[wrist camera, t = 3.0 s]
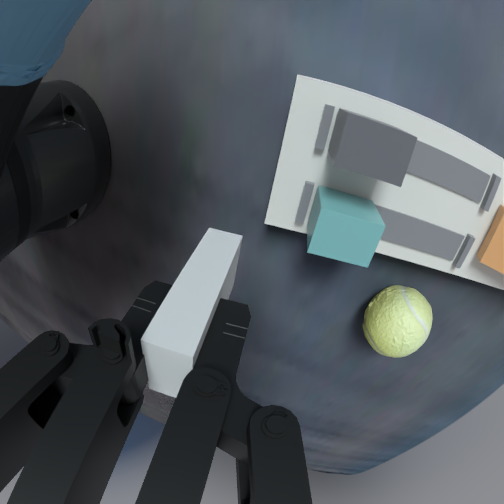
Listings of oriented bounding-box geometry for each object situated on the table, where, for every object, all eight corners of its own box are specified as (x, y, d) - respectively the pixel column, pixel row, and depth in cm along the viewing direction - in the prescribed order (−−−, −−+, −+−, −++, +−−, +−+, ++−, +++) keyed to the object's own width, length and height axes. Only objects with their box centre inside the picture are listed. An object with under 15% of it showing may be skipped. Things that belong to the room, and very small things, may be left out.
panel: (267, 212, 24) (261, 232, 21) (298, 75, 18) (297, 73, 15) (519, 287, 22) (532, 306, 19) (561, 203, 16) (579, 218, 13)
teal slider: (307, 223, 21) (307, 252, 18) (318, 185, 19) (321, 207, 16) (358, 236, 21) (367, 267, 17) (372, 200, 19) (385, 226, 16)
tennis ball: (395, 382, 23) (452, 341, 19) (344, 349, 22) (405, 300, 19) (391, 336, 28) (438, 297, 24) (348, 303, 28) (395, 258, 24)
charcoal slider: (327, 150, 18) (333, 166, 15) (339, 107, 16) (348, 112, 13) (383, 167, 18) (401, 187, 14) (396, 127, 16) (417, 137, 13)
